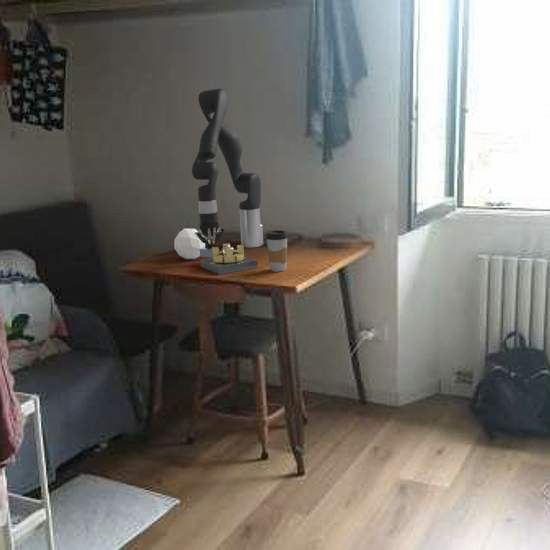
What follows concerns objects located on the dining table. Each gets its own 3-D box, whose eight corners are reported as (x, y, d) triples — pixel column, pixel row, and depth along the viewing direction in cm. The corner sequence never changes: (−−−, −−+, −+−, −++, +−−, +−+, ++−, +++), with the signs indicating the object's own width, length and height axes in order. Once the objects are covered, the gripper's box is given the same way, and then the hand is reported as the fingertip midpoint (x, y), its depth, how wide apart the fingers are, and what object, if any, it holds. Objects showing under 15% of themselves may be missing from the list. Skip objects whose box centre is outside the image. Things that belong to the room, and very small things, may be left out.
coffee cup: (276, 266, 289) (275, 229, 286) (293, 268, 284) (291, 231, 281) (263, 270, 283) (261, 233, 280) (279, 273, 278) (278, 234, 274)
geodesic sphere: (162, 245, 312) (172, 222, 304) (187, 240, 322) (197, 217, 313) (180, 268, 306) (190, 245, 298) (205, 262, 316) (216, 240, 307)
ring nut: (250, 257, 292) (249, 245, 291) (230, 264, 282) (229, 250, 281) (211, 253, 304) (210, 241, 303) (191, 259, 294) (190, 246, 293)
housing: (237, 260, 303) (236, 241, 301) (257, 267, 289) (256, 248, 287) (200, 266, 295) (199, 247, 293) (219, 274, 280) (218, 254, 279)
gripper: (218, 208, 302) (221, 248, 306) (189, 212, 295) (192, 253, 300) (226, 210, 296) (229, 251, 300) (197, 214, 289) (201, 256, 293)
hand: (211, 252), depth 300 cm, fingers closed
